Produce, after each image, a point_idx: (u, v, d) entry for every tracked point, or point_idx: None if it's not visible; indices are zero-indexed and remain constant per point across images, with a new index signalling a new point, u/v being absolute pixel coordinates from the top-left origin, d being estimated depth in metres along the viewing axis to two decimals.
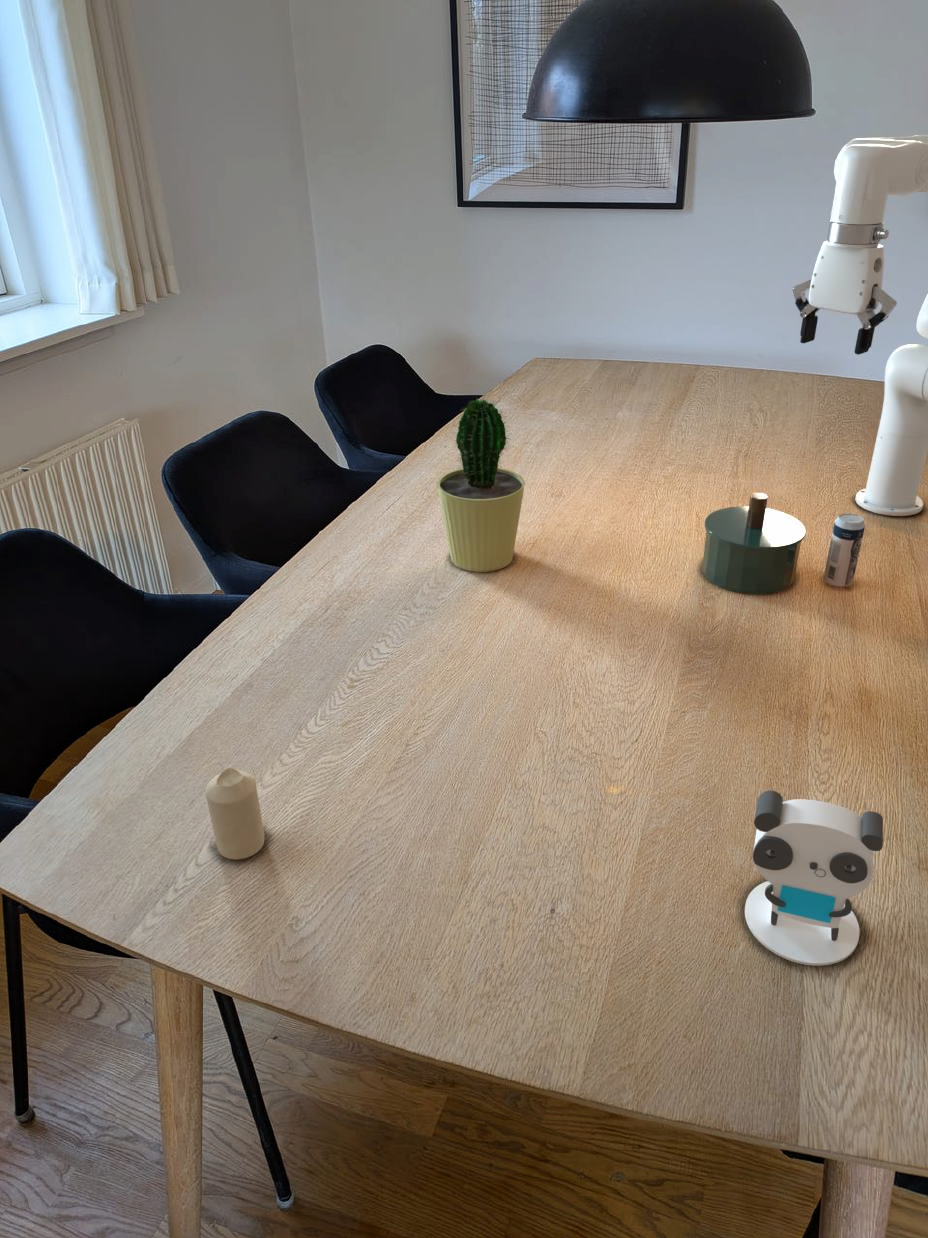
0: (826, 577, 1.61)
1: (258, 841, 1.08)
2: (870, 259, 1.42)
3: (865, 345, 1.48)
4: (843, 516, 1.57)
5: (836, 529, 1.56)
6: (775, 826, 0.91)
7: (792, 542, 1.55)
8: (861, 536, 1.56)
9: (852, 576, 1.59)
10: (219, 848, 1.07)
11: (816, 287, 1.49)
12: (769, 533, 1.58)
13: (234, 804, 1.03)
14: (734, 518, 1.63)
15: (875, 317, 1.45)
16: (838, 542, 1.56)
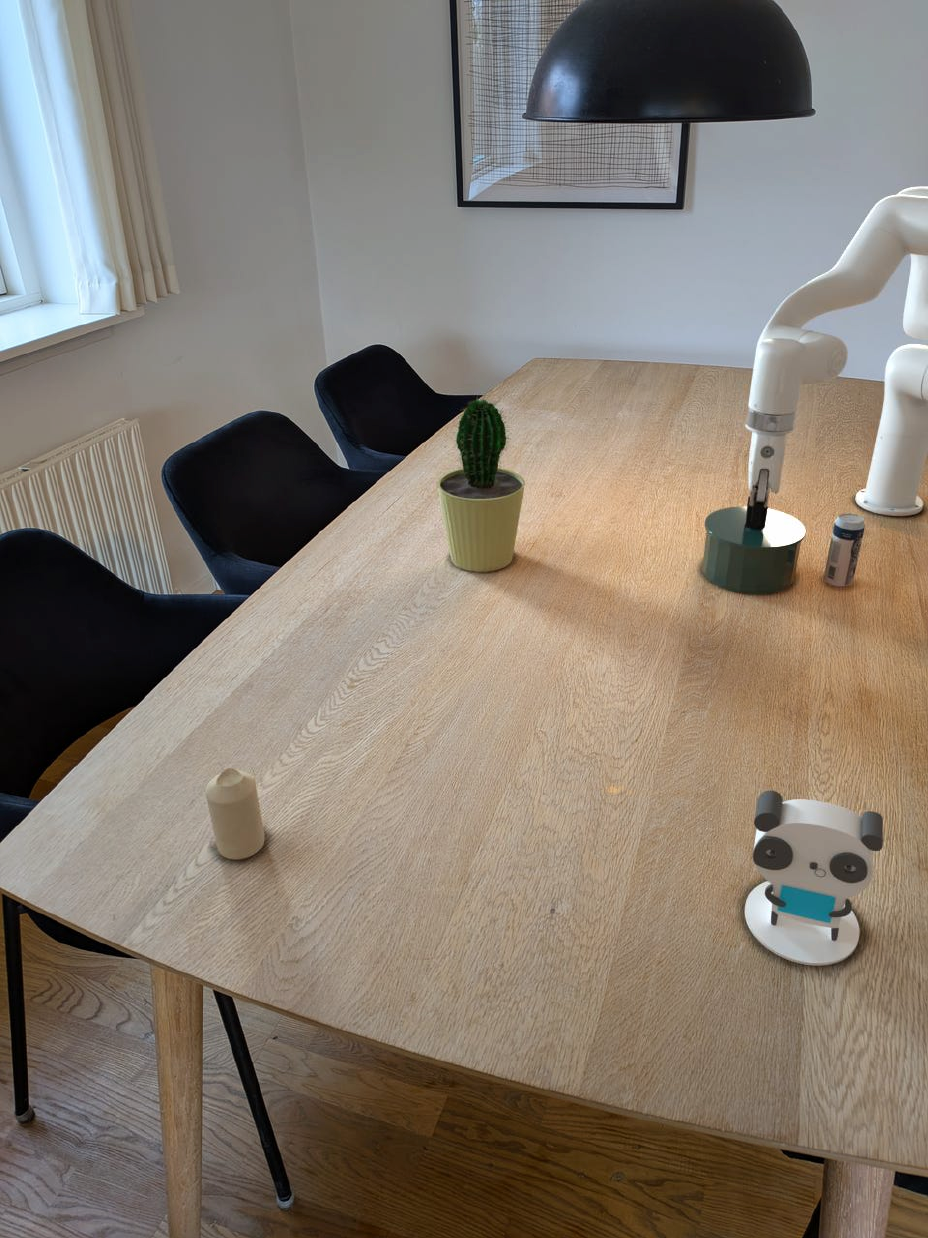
0: (826, 577, 1.61)
1: (258, 841, 1.08)
2: (756, 444, 1.49)
3: (751, 521, 1.58)
4: (843, 516, 1.57)
5: (836, 529, 1.56)
6: (775, 826, 0.91)
7: (792, 542, 1.55)
8: (861, 536, 1.56)
9: (852, 576, 1.59)
10: (219, 848, 1.07)
11: None
12: (769, 533, 1.58)
13: (234, 804, 1.03)
14: (734, 518, 1.63)
15: None
16: (838, 542, 1.56)
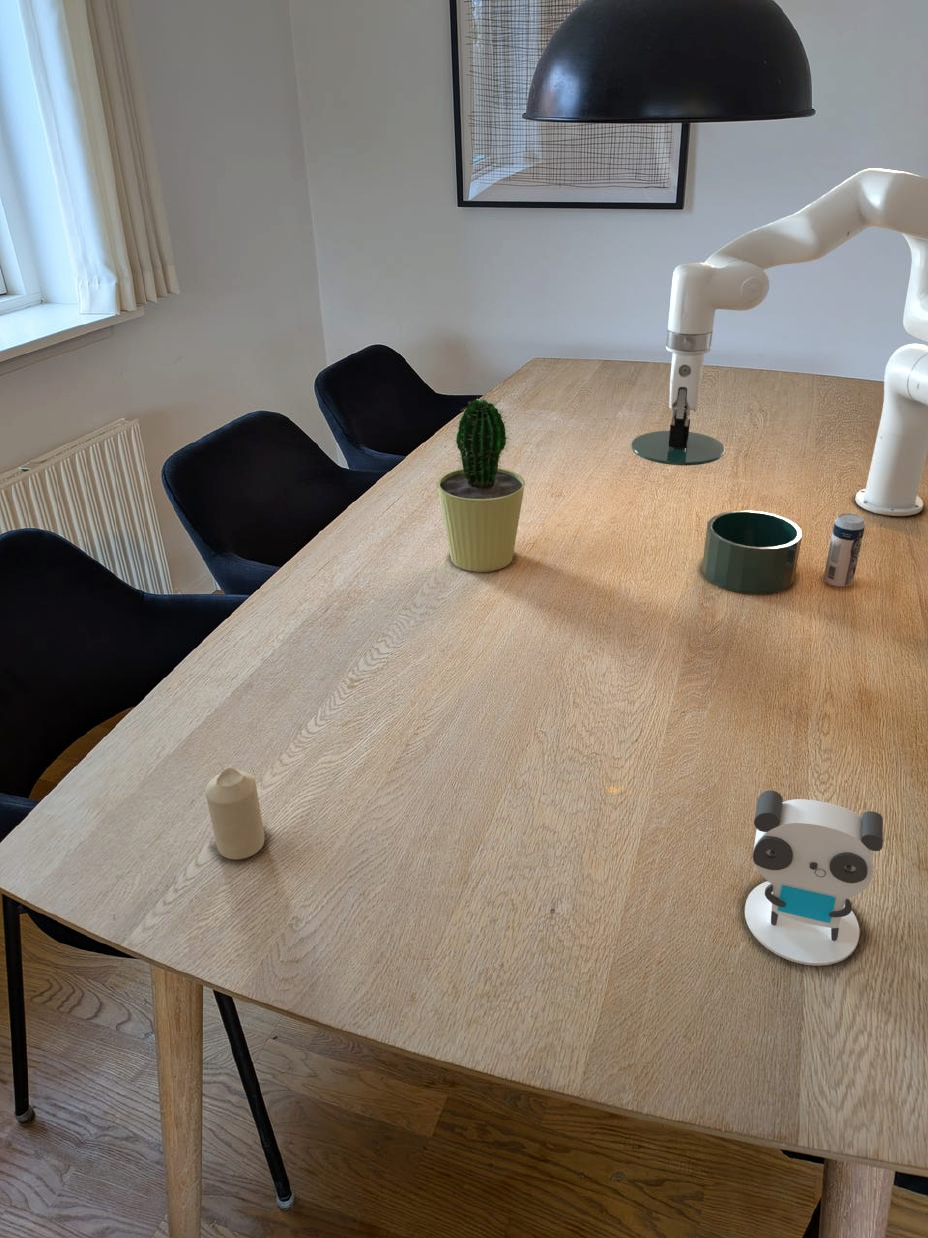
0: (826, 577, 1.61)
1: (258, 841, 1.08)
2: (675, 364, 1.59)
3: (673, 440, 1.67)
4: (843, 516, 1.57)
5: (836, 529, 1.56)
6: (775, 826, 0.91)
7: (710, 458, 1.64)
8: (861, 536, 1.56)
9: (852, 576, 1.59)
10: (219, 848, 1.07)
11: None
12: (690, 451, 1.67)
13: (234, 804, 1.03)
14: (660, 440, 1.73)
15: None
16: (838, 542, 1.56)
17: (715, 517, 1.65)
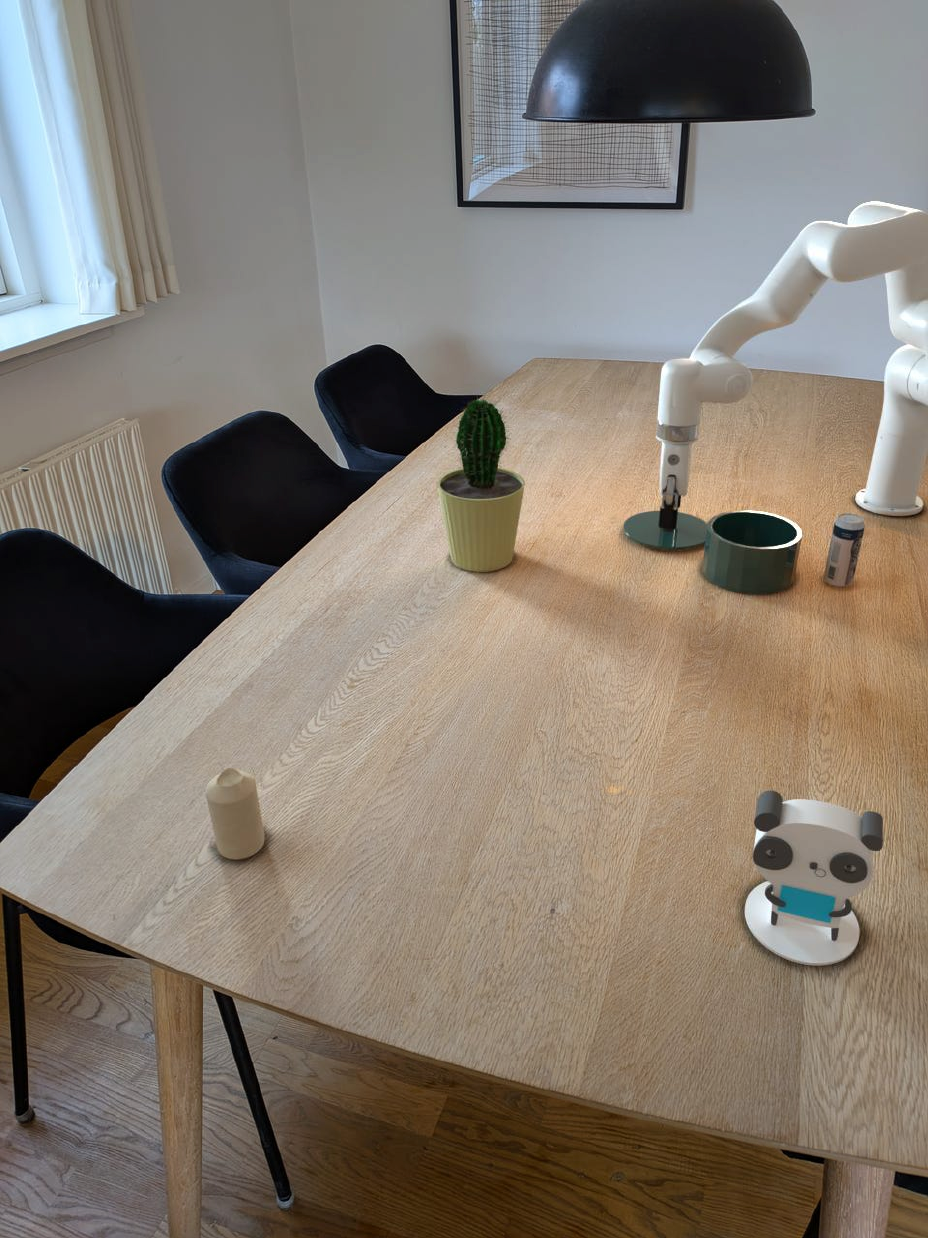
0: (826, 577, 1.61)
1: (258, 841, 1.08)
2: (664, 453, 1.67)
3: (663, 522, 1.73)
4: (843, 516, 1.57)
5: (836, 529, 1.56)
6: (775, 826, 0.91)
7: (698, 543, 1.73)
8: (861, 536, 1.56)
9: (852, 576, 1.59)
10: (219, 848, 1.07)
11: None
12: (679, 535, 1.76)
13: (234, 804, 1.03)
14: (650, 521, 1.82)
15: None
16: (838, 542, 1.56)
17: (715, 517, 1.65)
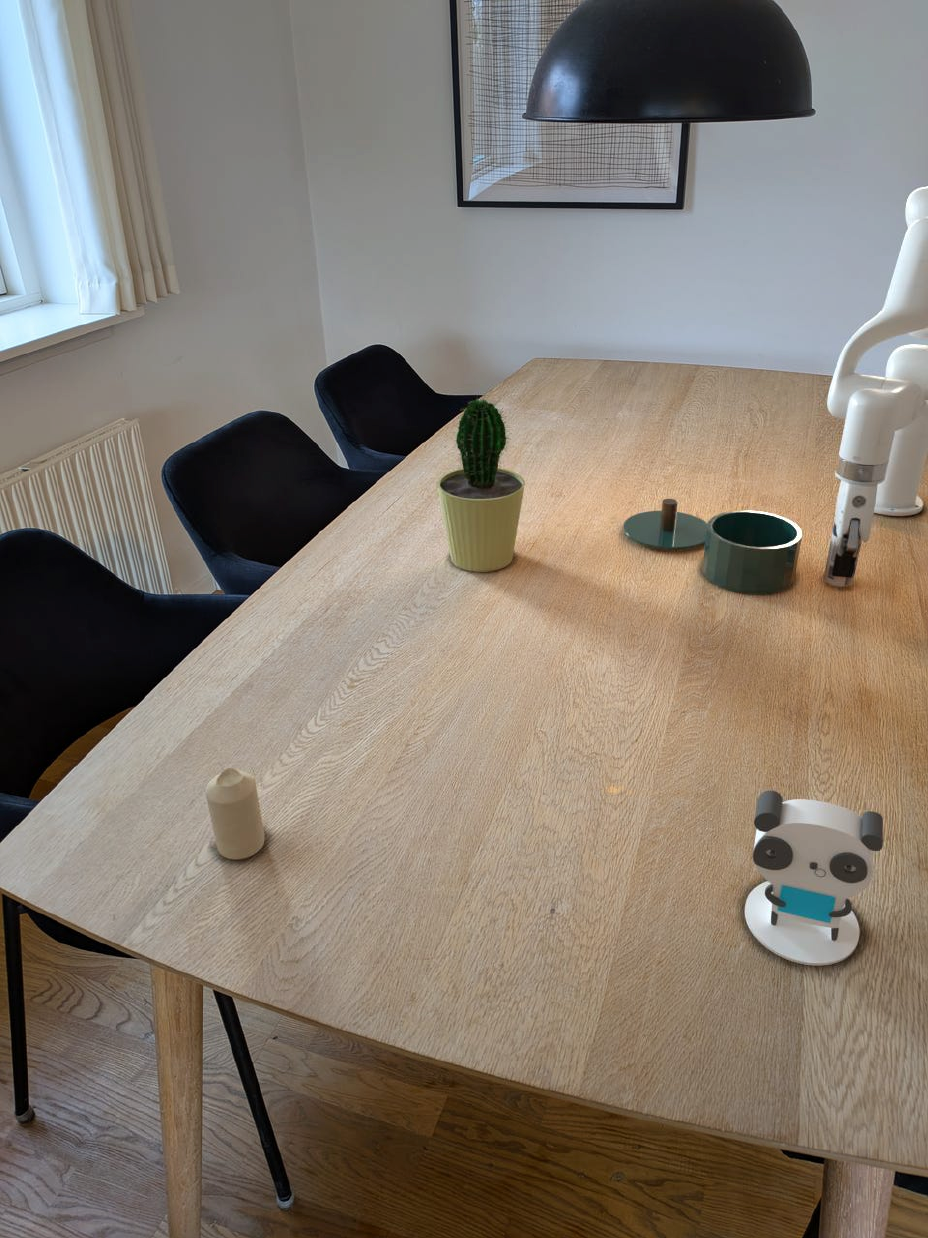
0: (826, 577, 1.61)
1: (258, 841, 1.08)
2: (848, 494, 1.49)
3: (838, 570, 1.57)
4: None
5: None
6: (775, 826, 0.91)
7: (698, 543, 1.73)
8: None
9: (852, 576, 1.59)
10: (219, 848, 1.07)
11: (836, 504, 1.59)
12: (679, 535, 1.76)
13: (234, 804, 1.03)
14: (650, 521, 1.82)
15: None
16: (838, 542, 1.56)
17: (715, 517, 1.65)
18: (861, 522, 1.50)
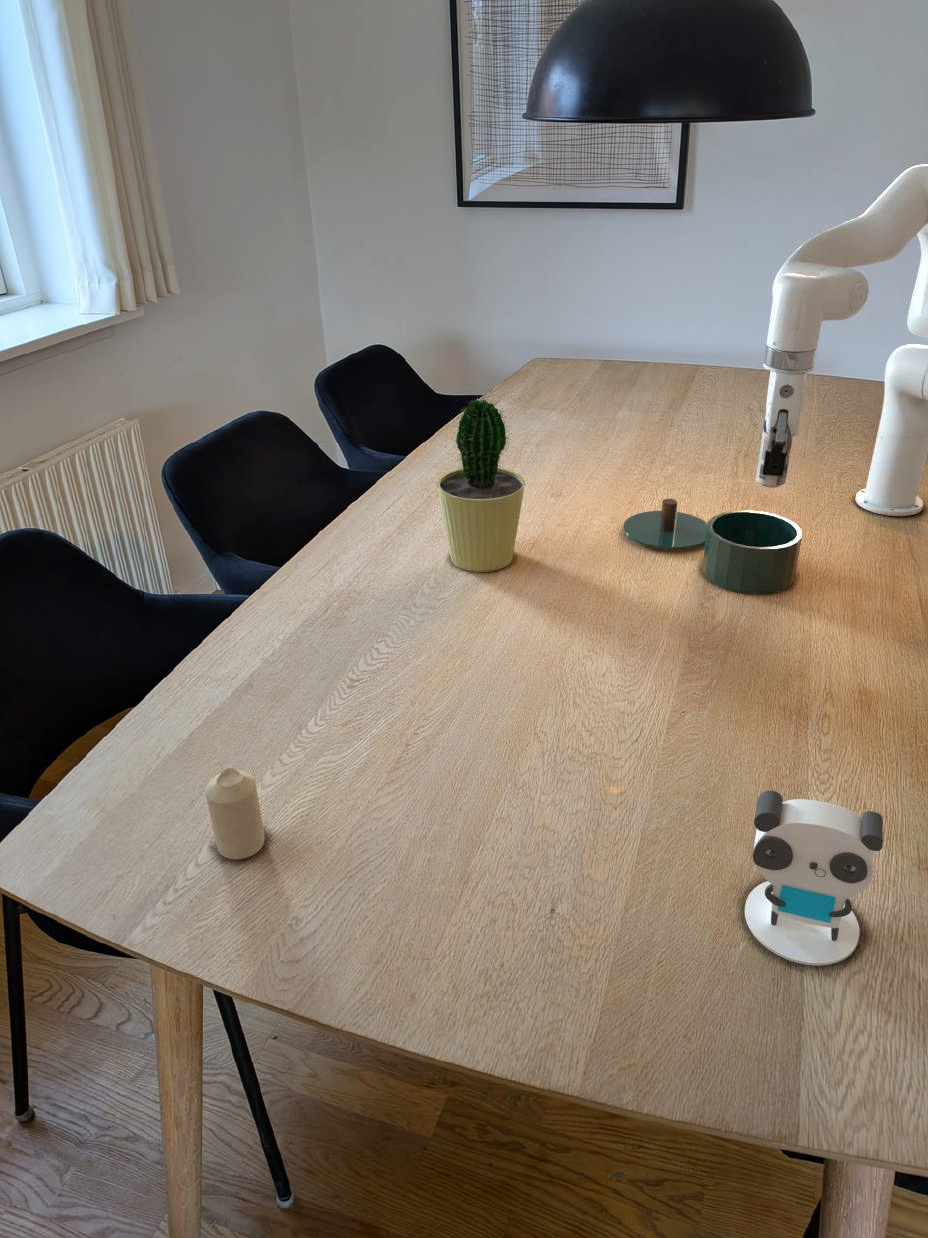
0: (758, 477, 1.55)
1: (258, 841, 1.08)
2: (775, 384, 1.44)
3: (768, 468, 1.51)
4: None
5: None
6: (775, 826, 0.91)
7: (698, 543, 1.73)
8: None
9: (784, 475, 1.54)
10: (219, 848, 1.07)
11: None
12: (679, 535, 1.76)
13: (234, 804, 1.03)
14: (650, 521, 1.82)
15: None
16: (768, 438, 1.51)
17: (715, 517, 1.65)
18: (789, 413, 1.45)
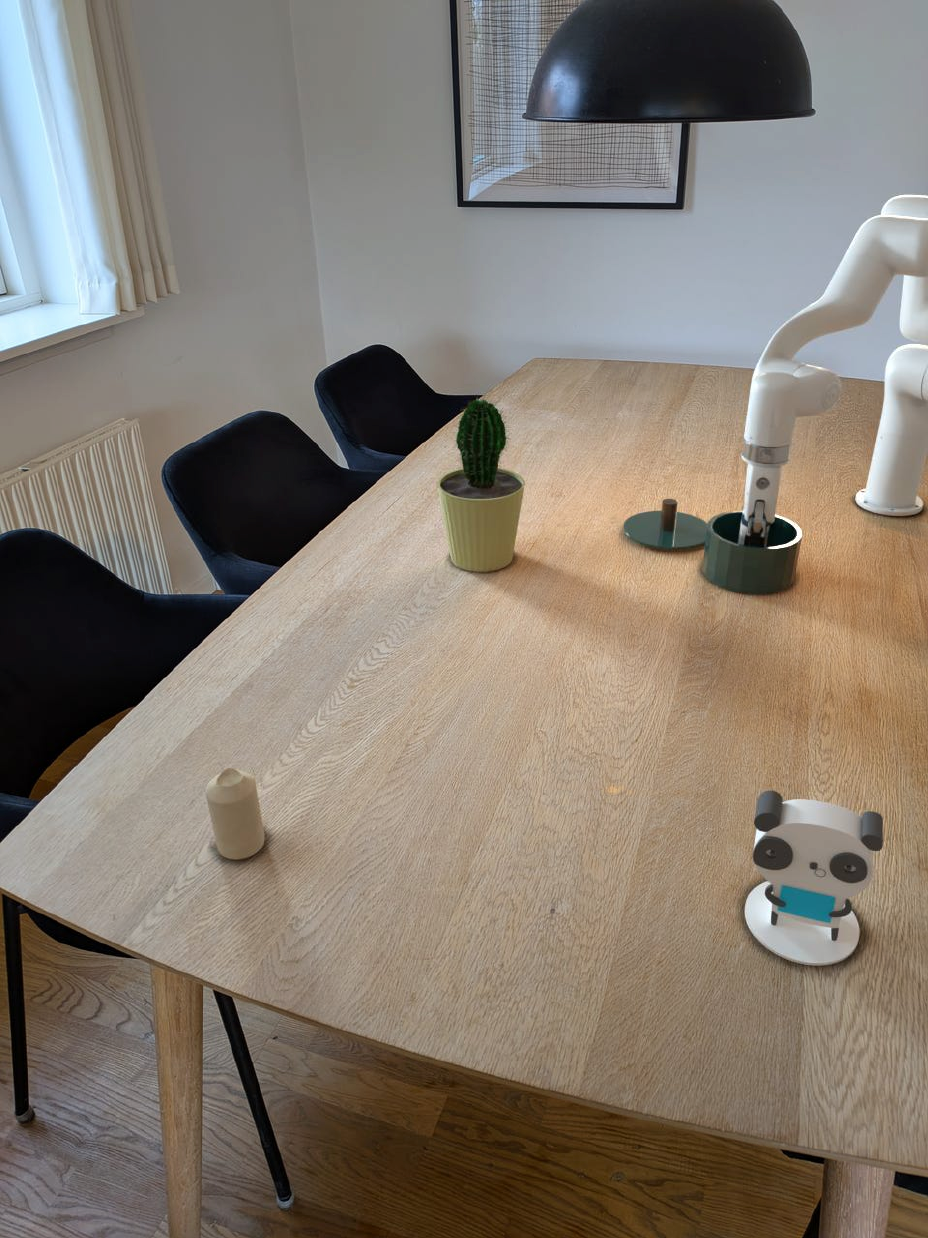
0: None
1: (258, 841, 1.08)
2: (752, 476, 1.52)
3: None
4: None
5: (743, 518, 1.59)
6: (775, 826, 0.91)
7: (698, 543, 1.73)
8: (767, 525, 1.59)
9: None
10: (219, 848, 1.07)
11: None
12: (679, 535, 1.76)
13: (234, 804, 1.03)
14: (650, 521, 1.82)
15: None
16: (746, 531, 1.59)
17: (715, 517, 1.65)
18: (765, 503, 1.53)
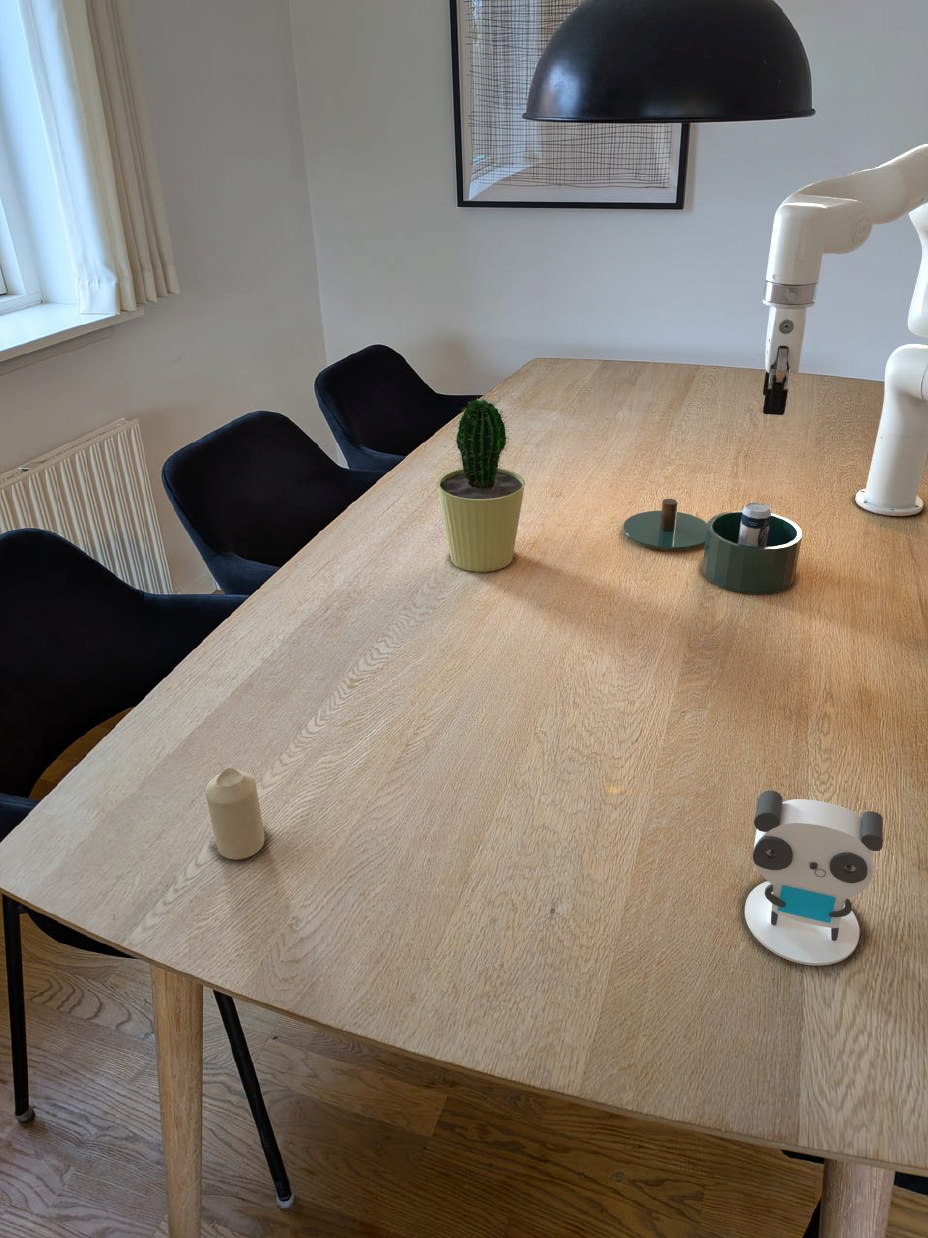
0: None
1: (258, 841, 1.08)
2: (775, 319, 1.40)
3: (769, 406, 1.45)
4: (750, 505, 1.60)
5: (743, 518, 1.59)
6: (775, 826, 0.91)
7: (698, 543, 1.73)
8: (767, 525, 1.59)
9: None
10: (219, 848, 1.07)
11: None
12: (679, 535, 1.76)
13: (234, 804, 1.03)
14: (650, 521, 1.82)
15: None
16: (746, 531, 1.59)
17: (715, 517, 1.65)
18: (789, 350, 1.40)
